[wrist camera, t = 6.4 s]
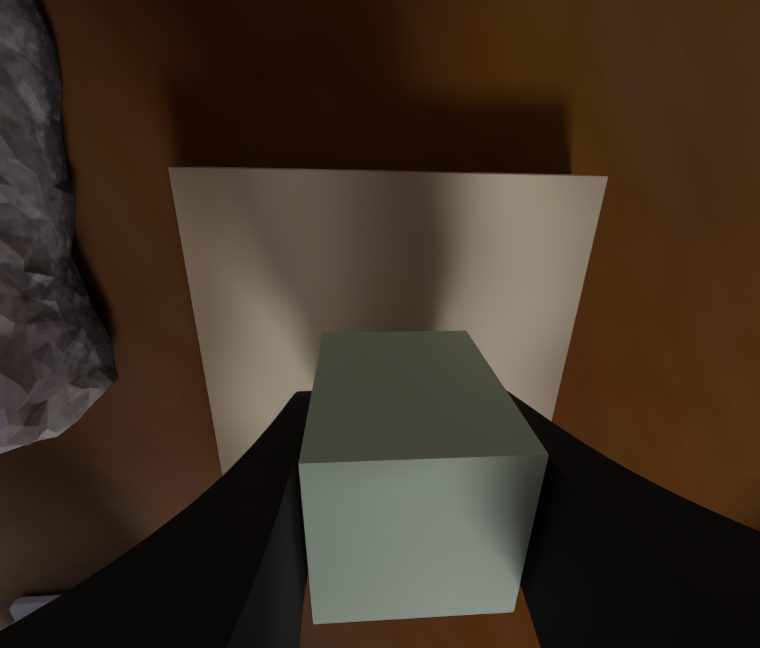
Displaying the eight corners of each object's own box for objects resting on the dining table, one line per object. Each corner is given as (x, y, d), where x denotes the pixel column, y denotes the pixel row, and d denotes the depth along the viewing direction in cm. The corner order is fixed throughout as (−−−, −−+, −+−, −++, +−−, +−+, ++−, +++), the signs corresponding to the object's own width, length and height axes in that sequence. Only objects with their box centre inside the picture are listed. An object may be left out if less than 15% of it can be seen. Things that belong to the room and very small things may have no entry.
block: (328, 449, 12) (313, 623, 8) (322, 332, 11) (298, 463, 6) (454, 444, 12) (513, 611, 8) (466, 330, 11) (548, 454, 6)
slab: (245, 460, 17) (228, 507, 15) (202, 166, 12) (168, 167, 10) (510, 452, 18) (533, 495, 16) (563, 174, 13) (607, 176, 11)
